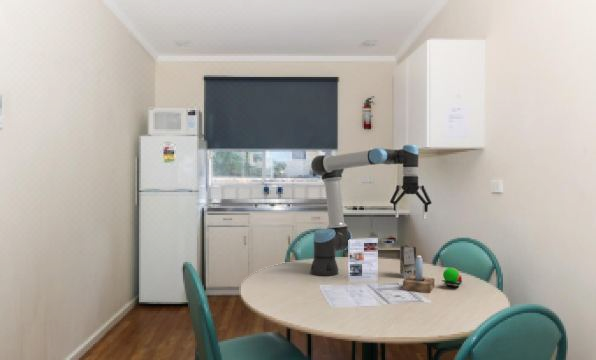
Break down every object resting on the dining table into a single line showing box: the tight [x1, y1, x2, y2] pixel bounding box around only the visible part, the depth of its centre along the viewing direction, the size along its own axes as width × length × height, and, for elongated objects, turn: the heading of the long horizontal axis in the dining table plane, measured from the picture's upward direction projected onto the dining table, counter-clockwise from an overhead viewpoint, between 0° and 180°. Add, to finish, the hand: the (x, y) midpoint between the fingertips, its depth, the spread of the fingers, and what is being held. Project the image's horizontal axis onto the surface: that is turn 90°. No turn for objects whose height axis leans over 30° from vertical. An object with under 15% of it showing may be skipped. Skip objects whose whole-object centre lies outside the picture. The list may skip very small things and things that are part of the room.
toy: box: [441, 267, 463, 288], centre depth 202 cm, size 8×8×15 cm
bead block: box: [402, 276, 435, 294], centre depth 198 cm, size 12×12×4 cm
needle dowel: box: [415, 255, 424, 281], centre depth 198 cm, size 3×3×15 cm
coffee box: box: [399, 244, 417, 279], centre depth 221 cm, size 9×6×16 cm
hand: (410, 218), depth 212 cm, fingers open, 13 cm apart
